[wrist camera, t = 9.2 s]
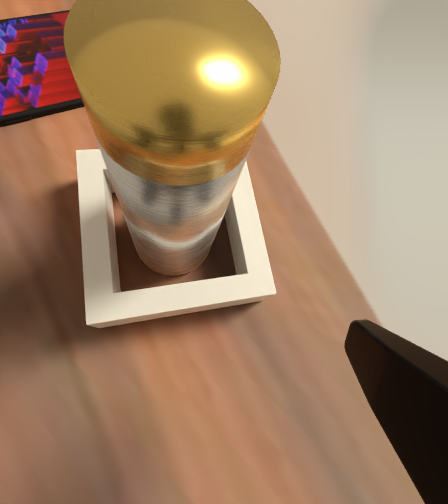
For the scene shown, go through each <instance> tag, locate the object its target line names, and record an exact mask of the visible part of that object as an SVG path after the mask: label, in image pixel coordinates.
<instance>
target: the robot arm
mask: <svg viewBox="0 0 448 504" xmlns="http://www.w3.org/2000/svg"><path fill="white" fill-rule="evenodd" d="M345 351H346V354H347V356H348V358H349V361H350V363H351V365H352V367H353V370H354V372H355V374H356V376H357V379H358V381H359V383H360V385H361V388H362V390H363V392H364V394H365V396H366V399H367V401H368V403H369V405H370V407H371V409H372V410H373V412H374V414H375V416H376V418H377V419H378V421H379V423H380V425H381V427H382V428H383V430H384V432H385V434H386V435H387V437H388V439H389V441H390V443H391V444H392V446H393V448H394V450H395V451H396V453H397V455H398V457H399V458H400V460H401V462H402V464H403V466H404V467H405V469H406V471H407V473H408V474H409V476H410V478H411V480H412V482H413V483H414V485H415V487H416V489H417V490H418V492H419V494H420V496H421V497H422V499H423V501H424V503H425V504H448V361H446V360H444V359H442V358H440V357H438V356H437V355H435V354H433V353H431V352H429V351H427V350H425V349H423V348H421V347H419V346H417V345H415V344H413V343H412V342H410V341H408V340H406V339H404V338H402V337H400V336H398V335H396V334H394V333H392V332H390V331H388V330H387V329H385V328H383V327H381V326H379V325H377V324H375V323H373V322H371V321H369V320H355V321H352V322H351V324H350V326H349V330H348V333H347V337H346V340H345Z"/></svg>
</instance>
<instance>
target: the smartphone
mask: <svg viewBox="0 0 448 504" xmlns="http://www.w3.org/2000/svg"><path fill="white" fill-rule="evenodd" d="M69 11H70V10H67V11H60V12H53V13H46V14H39V15H32V16H24V17H17V18H10V19H3V20H0V127H2V126H6V125H10V124H14V123H18V122H22V121H26V120H30V119H35V118H39V117H43V116H47V115H51V114H55V113H59V112H64V111H68V110H72V109H76V108H80V107H84V103H83V101H82V98H81V95H80V92H79V89H78V87H77V84H76V81H75V78H74V75H73V73H72V70H71V67H70V64H69V61H68V59H67V56H66V52H65V47H64V27H65V22H66V19H67V16H68V14H69Z"/></svg>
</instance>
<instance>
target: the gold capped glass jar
mask: <svg viewBox="0 0 448 504" xmlns="http://www.w3.org/2000/svg"><path fill="white" fill-rule="evenodd" d="M64 47H65V52H66V56H67V59H68V61H69V64H70V67H71V70H72V73H73V75H74V78H75V81H76V84H77V87H78V89H79V92H80V95H81V98H82V101H83V103H84V106H85V109H86V112H87V115H88V117H89V120H90V123H91V126H92V129H93V131H94V134H95V137H96V140H97V143H98V145H99V148H100V151H101V154H102V156H103V159H104V162H105V165H106V168H107V170H108V173H109V176H110V179H111V182H112V184H113V187H114V190H115V193H116V196H117V198H118V201H119V204H120V207H121V210H122V212H123V215H124V218H125V221H126V224H127V226H128V229H129V232H130V235H131V238H132V240H133V243H134V246H135V249H136V251H137V254H138V256H139V258H140V259H141V260H142V262H143V263H144V264H145V265H146V266H147V267H149V268H150V269H152V270H153V271H155V272H157V273H160V274H163V275H169V276H177V275H183V274H186V273H189V272H191V271H193V270H195V269H196V268H198V267H199V266H200V265H201V264H202V263H203V262H204V261H205V259H206V258H207V256H208V254H209V251H210V249H211V246H212V244H213V241H214V239H215V236H216V234H217V231H218V229H219V226H220V224H221V221H222V219H223V216H224V214H225V211H226V209H227V206H228V204H229V201H230V199H231V196H232V194H233V191H234V189H235V186H236V184H237V181H238V179H239V176H240V174H241V171H242V169H243V166H244V164H245V161H246V159H247V156H248V154H249V151H250V149H251V146H252V144H253V141H254V139H255V136H256V134H257V131H258V129H259V126H260V124H261V121H262V119H263V116H264V114H265V111H266V109H267V106H268V104H269V101H270V99H271V96H272V94H273V91H274V89H275V86H276V84H277V81H278V77H279V72H280V52H279V48H278V44H277V41H276V38H275V36H274V33H273V31H272V30H271V28H270V26H269V24H268V23H267V21H266V20H265V19H264V17H263V16H262V15H261V13H260V12H259V11H258V10H257V9H256V8H255V7H254V6H253V5H252V4H251V3H249V2H248V1H247V0H76V1H75V3H74V5H73V6H72V8H71V9H70V11H69V14H68V16H67V19H66V22H65V27H64Z"/></svg>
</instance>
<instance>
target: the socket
mask: <svg viewBox="0 0 448 504" xmlns="http://www.w3.org/2000/svg"><path fill="white" fill-rule="evenodd" d="M76 157H77V174H78V192H79V209H80V226H81V243H82V260H83V278H84V295H85V312H86V325H89V326H93V327H96V328H104V327H110V326H115V325H121V324H127V323H133V322H139V321H145V320H151V319H157V318H163V317H169V316H175V315H181V314H187V313H193V312H199V311H205V310H211V309H217V308H223V307H228V306H234V305H240V304H246V303H252V302H258V301H263V300H265V299H267V298H269V297H271V296H273V295H275V294H276V289H275V285H274V281H273V276H272V272H271V268H270V263H269V259H268V254H267V250H266V246H265V241H264V237H263V233H262V228H261V224H260V219H259V215H258V211H257V206H256V202H255V198H254V193H253V189H252V184H251V180H250V176H249V171H248V167H247V163H246V161H245V164H244V166H243V169H242V171H241V174H240V176H239V179H238V181H237V184H236V186H235V189H234V191H233V194H232V196H231V199H230V201H229V204H228V206H227V209H226V211H225V214H224V215H225V220H226V225H227V230H228V235H229V240H230V245H231V250H232V255H233V261H234V266H235V271H236V275H234V276H227V277H220V278H214V279H207V280H200V281H193V282H186V283H180V284H173V285H166V286H159V287H152V288H146V289H139V290H132V291H125V292H121V289H120V278H119V267H118V256H117V245H116V233H115V222H114V211H113V200H112V193H115V190H114V187H113V184H112V182H111V179H110V176H109V173H108V170H107V168H106V165H105V162H104V159H103V156H102V154H101V151H100V149H91V150H76Z"/></svg>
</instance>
